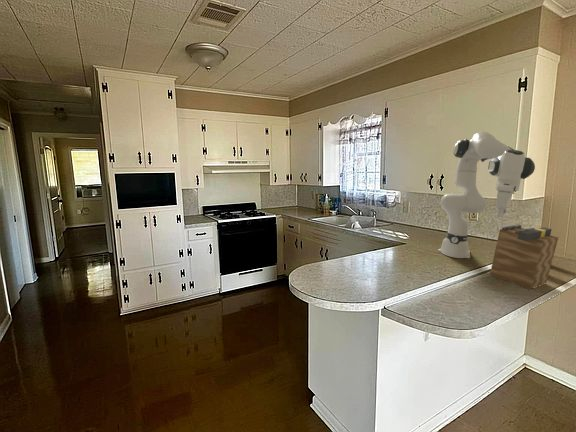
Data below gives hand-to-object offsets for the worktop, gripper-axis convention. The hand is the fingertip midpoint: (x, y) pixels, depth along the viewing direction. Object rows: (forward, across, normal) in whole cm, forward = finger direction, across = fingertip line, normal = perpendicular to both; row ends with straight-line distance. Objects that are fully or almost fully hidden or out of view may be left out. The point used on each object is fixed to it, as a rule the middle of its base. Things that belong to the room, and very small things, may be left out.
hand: (501, 215), depth 151 cm
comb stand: (+38, -27, +11) cm, 47 cm away
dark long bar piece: (+12, -20, +14) cm, 27 cm away
